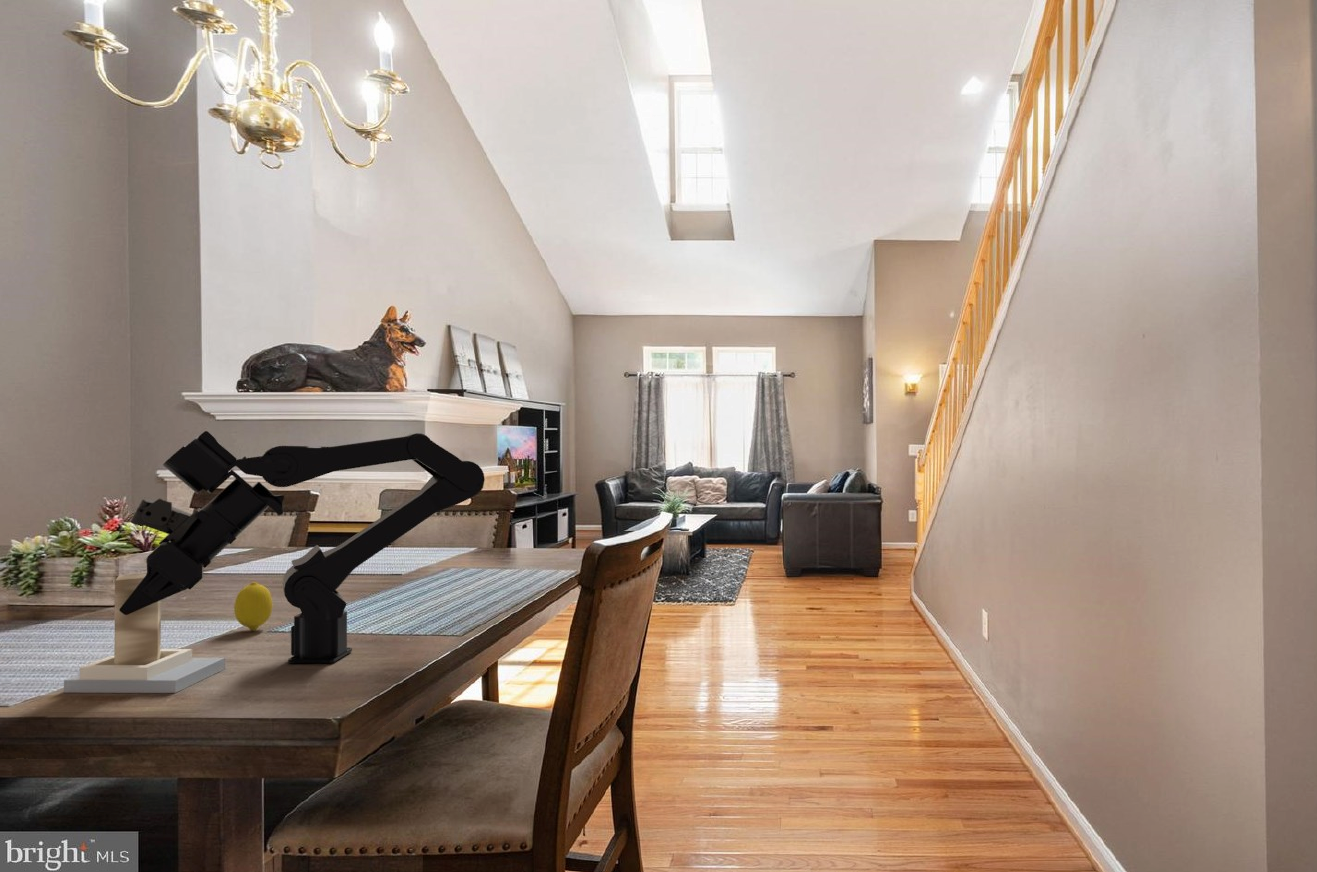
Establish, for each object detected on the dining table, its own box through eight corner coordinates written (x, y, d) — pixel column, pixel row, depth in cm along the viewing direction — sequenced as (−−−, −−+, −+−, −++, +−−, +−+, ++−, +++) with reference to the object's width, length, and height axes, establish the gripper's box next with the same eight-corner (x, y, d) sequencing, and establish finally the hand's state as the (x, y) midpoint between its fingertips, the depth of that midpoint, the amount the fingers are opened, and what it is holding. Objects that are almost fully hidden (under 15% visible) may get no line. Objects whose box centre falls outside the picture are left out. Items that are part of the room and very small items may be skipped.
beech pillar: (160, 662, 99) (161, 572, 99) (157, 671, 95) (158, 577, 96) (119, 667, 97) (119, 575, 97) (114, 676, 93) (115, 580, 93)
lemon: (230, 630, 123) (230, 581, 123) (267, 625, 127) (267, 577, 127) (239, 636, 119) (239, 586, 119) (276, 630, 123) (276, 582, 123)
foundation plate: (225, 668, 101) (225, 646, 101) (175, 692, 91) (175, 668, 91) (124, 668, 102) (124, 646, 102) (63, 692, 92) (64, 667, 92)
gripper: (180, 474, 107) (83, 558, 101) (170, 478, 90) (54, 578, 85) (243, 526, 110) (152, 609, 105) (244, 539, 94) (137, 638, 89)
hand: (125, 607), depth 96 cm, fingers open, 6 cm apart
